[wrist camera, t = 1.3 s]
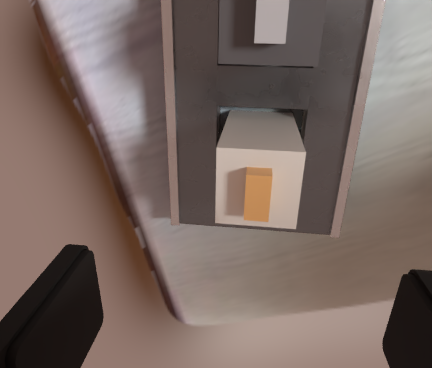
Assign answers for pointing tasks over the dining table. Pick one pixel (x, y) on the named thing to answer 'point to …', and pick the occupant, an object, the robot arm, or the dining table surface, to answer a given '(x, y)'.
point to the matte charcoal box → (271, 32)
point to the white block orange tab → (259, 170)
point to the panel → (266, 98)
